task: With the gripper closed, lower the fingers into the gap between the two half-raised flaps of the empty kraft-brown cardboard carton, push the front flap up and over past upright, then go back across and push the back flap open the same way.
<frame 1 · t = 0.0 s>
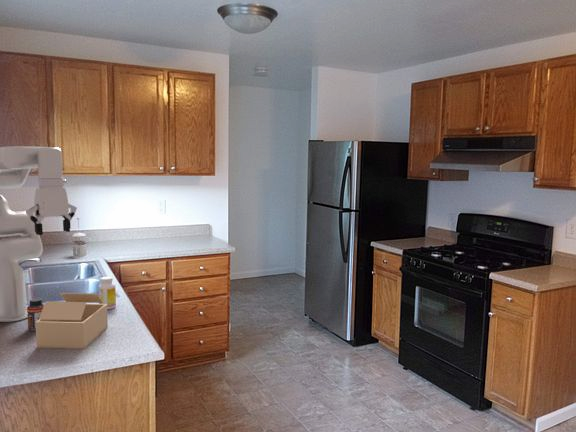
hand: (53, 233, 163), 37 cm above the worktop, tool pointing down, fingers open, 9 cm apart
supplement bottle 2: (37, 329, 174), on the worktop
french press: (79, 256, 296), on the worktop
front flap: (63, 310, 158), point 12 cm above the worktop, hinge at 45.0°
supplement bottle: (107, 307, 200), on the worktop
back flap: (81, 297, 173), point 12 cm above the worktop, hinge at 45.0°
carton: (74, 336, 167), on the worktop
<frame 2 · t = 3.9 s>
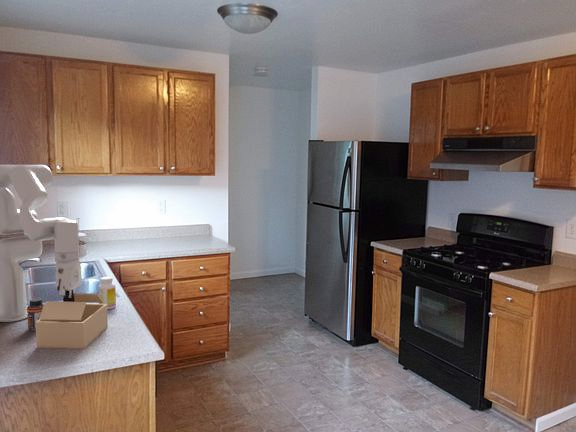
hand: (69, 307, 163), 12 cm above the worktop, tool pointing down, fingers closed
front flap: (62, 310, 158), point 12 cm above the worktop, hinge at 45.8°, touching gripper
everything else where it was.
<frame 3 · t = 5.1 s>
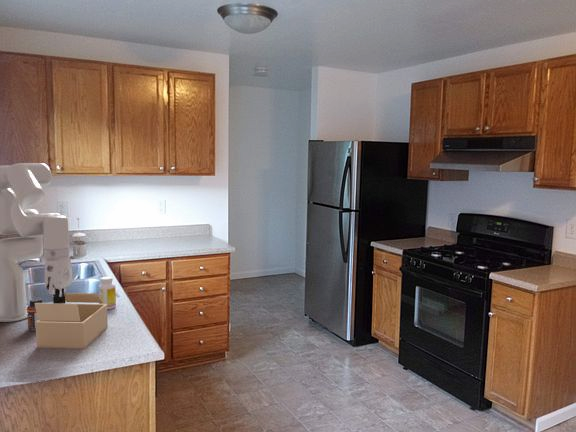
hand: (59, 307, 156), 14 cm above the worktop, tool pointing down, fingers closed
front flap: (57, 312, 155), point 13 cm above the worktop, hinge at 104.7°, touching gripper
everything else where it was.
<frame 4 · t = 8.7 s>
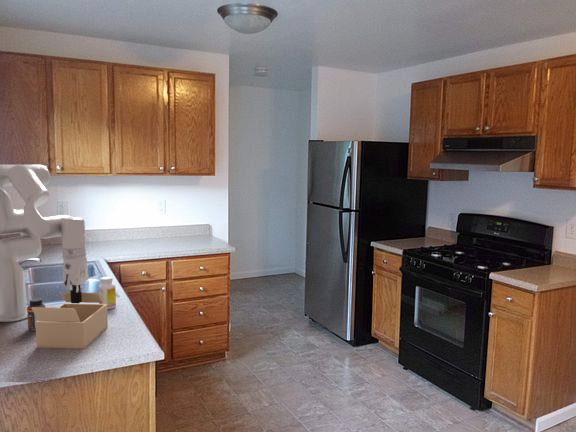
hand: (76, 302, 168), 12 cm above the worktop, tool pointing down, fingers closed
front flap: (56, 314, 154), point 12 cm above the worktop, hinge at 122.3°
back flap: (82, 297, 173), point 12 cm above the worktop, hinge at 47.4°, touching gripper
everything else where it was.
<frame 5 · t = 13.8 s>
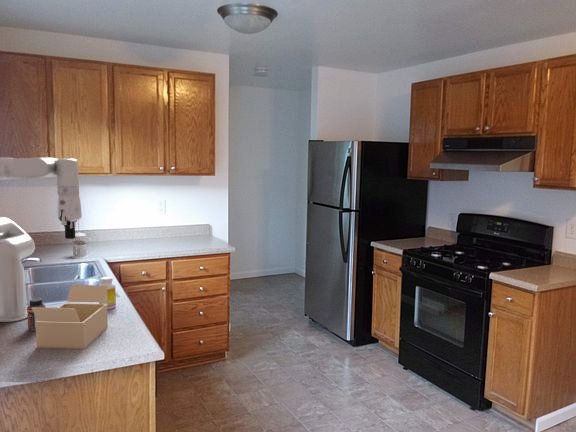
hand: (70, 238, 182), 32 cm above the worktop, tool pointing down, fingers closed
back flap: (87, 293, 177), point 12 cm above the worktop, hinge at 124.0°
everything else where it was.
at the end: front flap at +122° (first picture: +45°); back flap at +124° (first picture: +45°) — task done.
